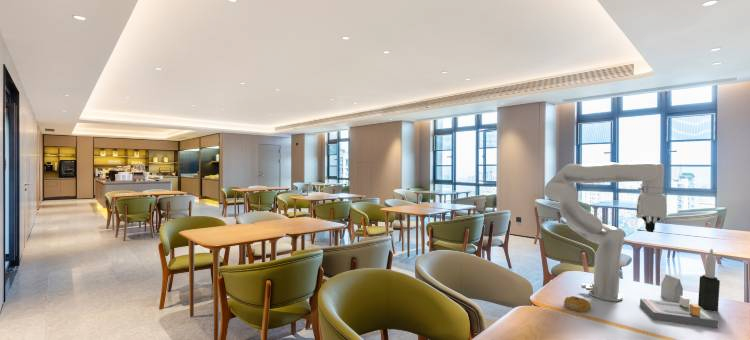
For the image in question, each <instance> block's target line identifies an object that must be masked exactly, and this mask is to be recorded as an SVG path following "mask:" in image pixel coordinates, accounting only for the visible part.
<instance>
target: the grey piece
mask: <svg viewBox="0 0 750 340" xmlns="http://www.w3.org/2000/svg"><path fill="white" fill-rule="evenodd" d="M681 282H682V281H681V279H680V278H677V277H674V276H672V275H670V274H667V273H666V274H665V275H664V277H663V279H662V282H661V287H660V297H662V298H664V299H666V300H669V301H670V302H673V303H679V302H680V296H684V295H683V294H684V293H683V292H684V288H683V286H682V285H683V284H682V283H681Z"/></svg>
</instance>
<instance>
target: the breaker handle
mask: <svg viewBox="0 0 750 340" xmlns="http://www.w3.org/2000/svg"><path fill="white" fill-rule="evenodd" d="M689 305H690V311H689V312H690V313H691V314H693V315H696V316H700V307H699V306H698V303H697V304H696V303H689Z"/></svg>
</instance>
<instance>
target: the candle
mask: <svg viewBox="0 0 750 340" xmlns="http://www.w3.org/2000/svg"><path fill="white" fill-rule="evenodd" d="M713 251H714V249H712V248H711V249H709V253H708V255H706V259H705V269H704V270H705V274H702V275H701V276H700V275H699V287H698V301H697V305H698V306H700V307H701V308H702V309H704V310H705V311H706V312H708V311H709V312H715V313H716V312H719V301H720V300H719V299H720V298H719V297H720V285H721V280H719V279H718V277H717V276H716V263H717V258H716V256H715V255H714V252H713Z"/></svg>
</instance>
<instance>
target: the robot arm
mask: <svg viewBox="0 0 750 340" xmlns="http://www.w3.org/2000/svg"><path fill="white" fill-rule="evenodd" d="M664 177H665V165H664V164H663V163H661V162H642V161H641V162H639V161H635V162H634V161H633V162H632V161H630V162H626V163H618V162H598V163H582V164H581V163H568V164H566V165H565V166H563V167H562V168H561V169H560V170H559V171H558V172H557V173H556V174H555V175H554V176H553V177H552V178H550V180H549V181H548V182H547V183H546V185H545V186H544V190H543V193H544V196H545V197H546V198H548V199H549V200H551V201H555V202H559V213H560V216H561V218H563V219H564V220H565V222H566V226H567V227H568V228H569V229H570V230H572V232H574V233H576V234H577V235H579V236H581V237H582V238H584V239H585V240H587V241H589V242H592V243H594V244H597V245H598V248H597V249H596V251H595V254H594V265H593V266H594V267H593V268H594V271H593V282H591V283H589V284H585V283H581V289H585V290H586V291H589V292H588V293H589V295H590V296H592V297H594V298H596V299H598V300H602V301H607V302H620V301H622V300H623V297H624V296H623V295H622V294H621V293H620V292H619V291H620V288H619V287H620V275H621V274H620V272H621V271H620V269H621V254H622V249H623V246H624V241H625V236H624V233H623V232H622V230H620V229H619V228H617V227H616V226H613V225H609V224H605V223H602V220H601V219H600V218H599V217H598V216H597V215H595V214H593V213H591V212H590V211H589V210H588V209H585V208H584V207H583V206H581V205H580V203H579V192H578V190H577V188H576V186H574V185H573V184H572V183H575V184H583V185H584V184H600V183H601V184H602V183H621V182H622V183H623V182H626V183H627V182H641V187H638V188H637V191H640V193H639V195H638V198H637V203H636V215H635V217H636V218H637V219H642V220H643V221H644V222H645V230H646V232H648V233H654V231H655V229H656V228H655V227H656V224H657V223H658V221H660V220H661V221H662V220H666V216H667V210H668V209H667V197H666V194H664V192H663V191H664ZM650 218H651V219H650Z"/></svg>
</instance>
